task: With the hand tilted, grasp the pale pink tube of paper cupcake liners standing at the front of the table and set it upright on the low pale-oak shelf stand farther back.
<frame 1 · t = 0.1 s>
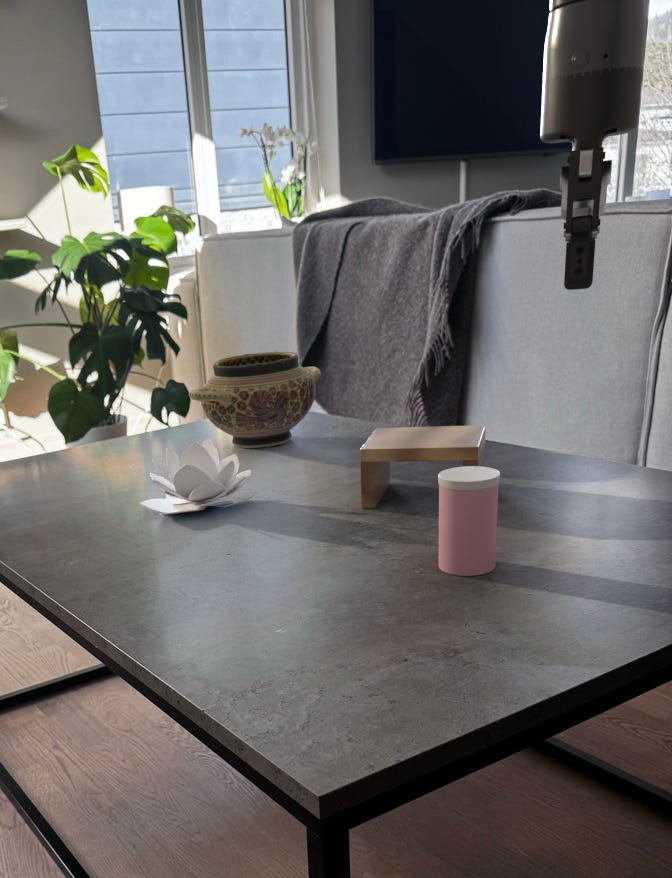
hand: (578, 285, 80), 24 cm above the table, tool pointing down, fingers open, 8 cm apart
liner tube: (466, 566, 87), on the table
shelf stand: (424, 495, 110), on the table
ceramic bowl: (261, 443, 145), on the table
lotus flower: (199, 508, 115), on the table
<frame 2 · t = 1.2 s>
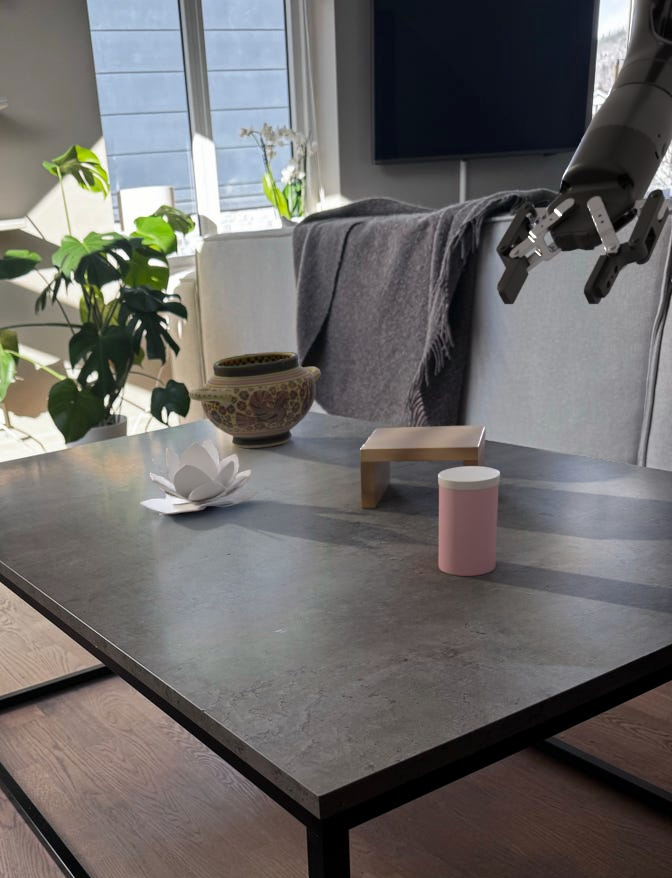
hand: (546, 298, 84), 23 cm above the table, tool tilted 45°, fingers open, 8 cm apart
nothing on the table moved.
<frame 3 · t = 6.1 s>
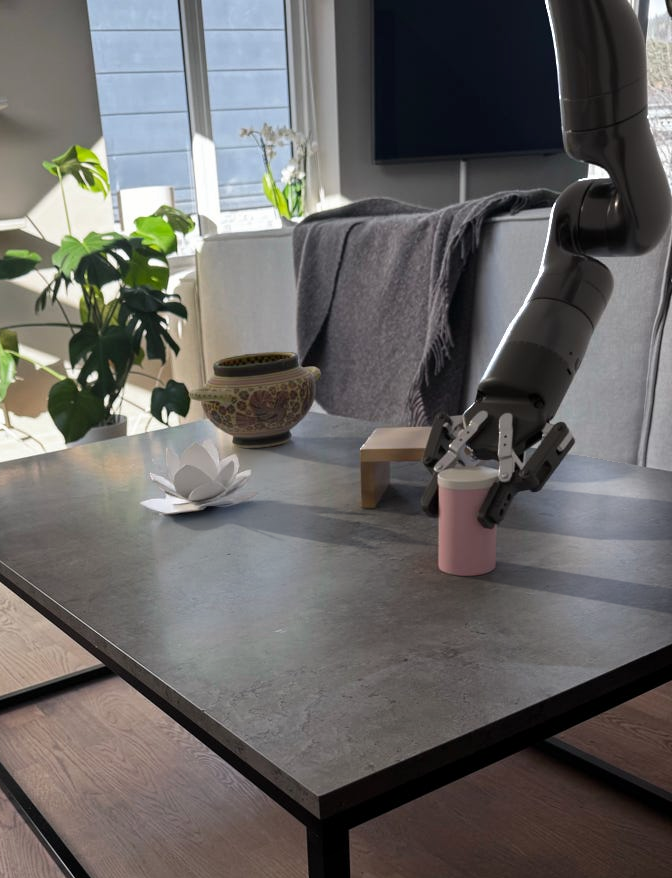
hand: (456, 518, 84), 5 cm above the table, tool tilted 45°, fingers closed on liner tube, 5 cm apart
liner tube: (466, 566, 87), on the table, touching gripper
everything else where it was.
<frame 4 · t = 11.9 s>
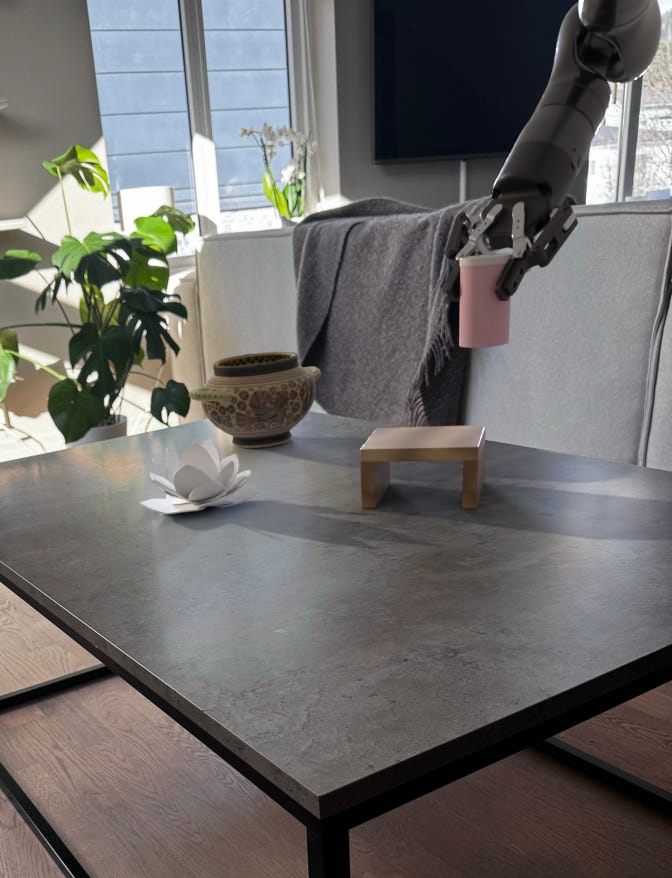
hand: (475, 295, 97), 22 cm above the table, tool tilted 45°, fingers closed on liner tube, 5 cm apart
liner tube: (483, 344, 100), point 17 cm above the table, touching gripper
everything else where it was.
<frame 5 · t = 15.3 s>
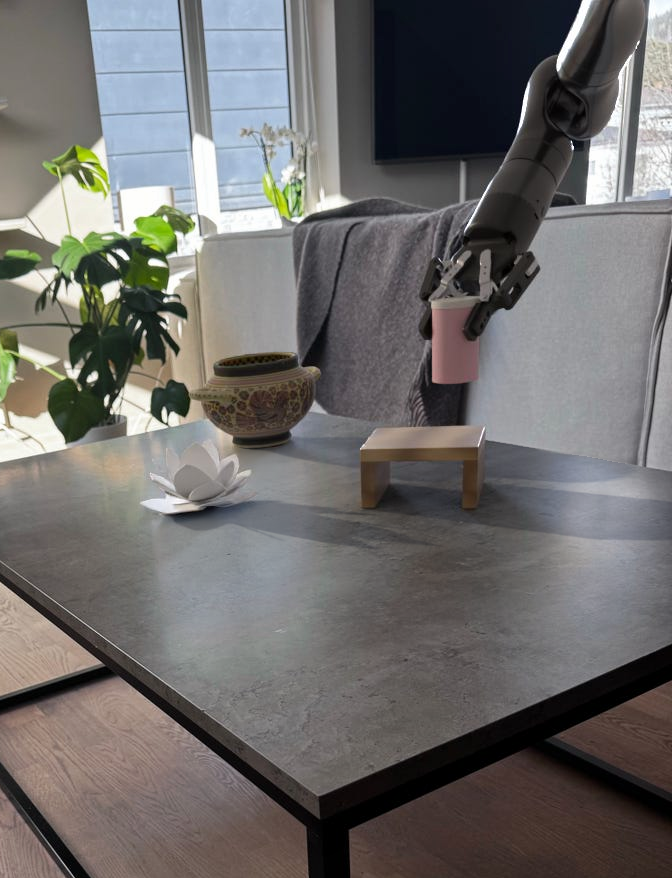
hand: (446, 335, 104), 18 cm above the table, tool tilted 45°, fingers closed on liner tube, 5 cm apart
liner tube: (455, 379, 108), point 13 cm above the table, touching gripper
everything else where it was.
when the fingers open (12 cm above the table, at t = 17.8 s): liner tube stays where it is, resting on shelf stand.
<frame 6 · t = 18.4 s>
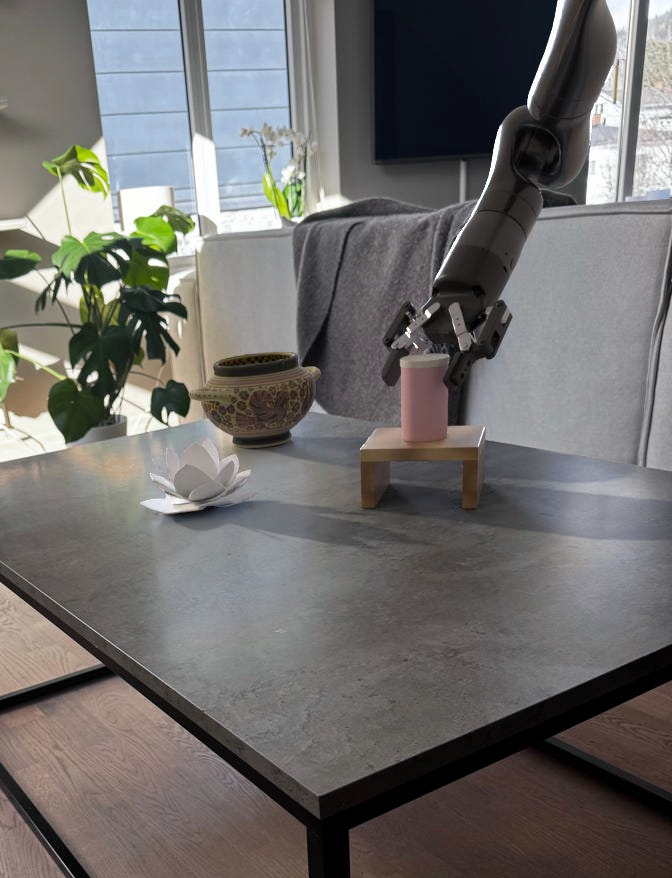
hand: (417, 384, 103), 13 cm above the table, tool tilted 45°, fingers open, 8 cm apart
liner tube: (424, 436, 107), point 7 cm above the table, touching shelf stand
everything else where it was.
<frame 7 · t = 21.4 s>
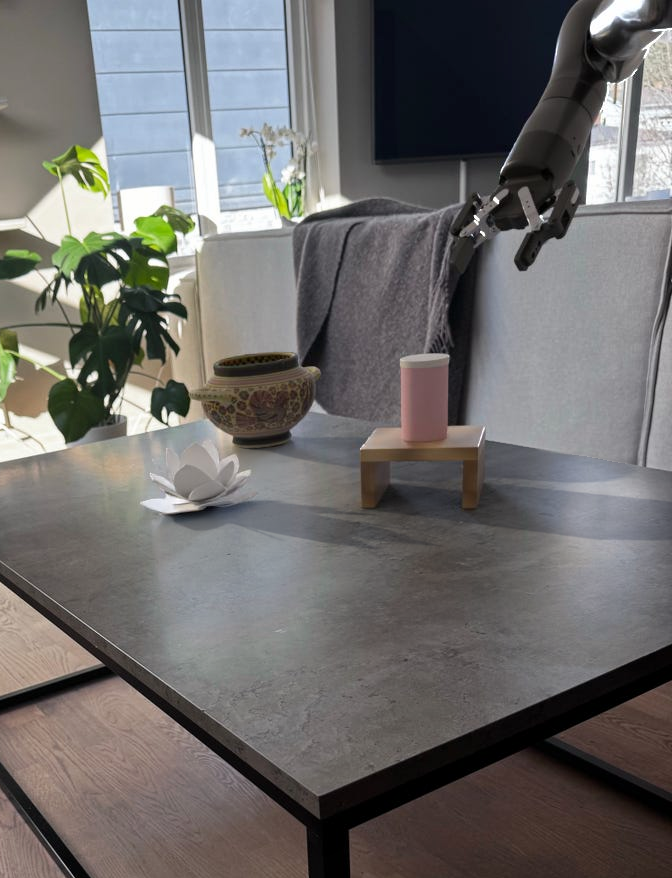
hand: (486, 268, 106), 24 cm above the table, tool tilted 45°, fingers open, 8 cm apart
nothing on the table moved.
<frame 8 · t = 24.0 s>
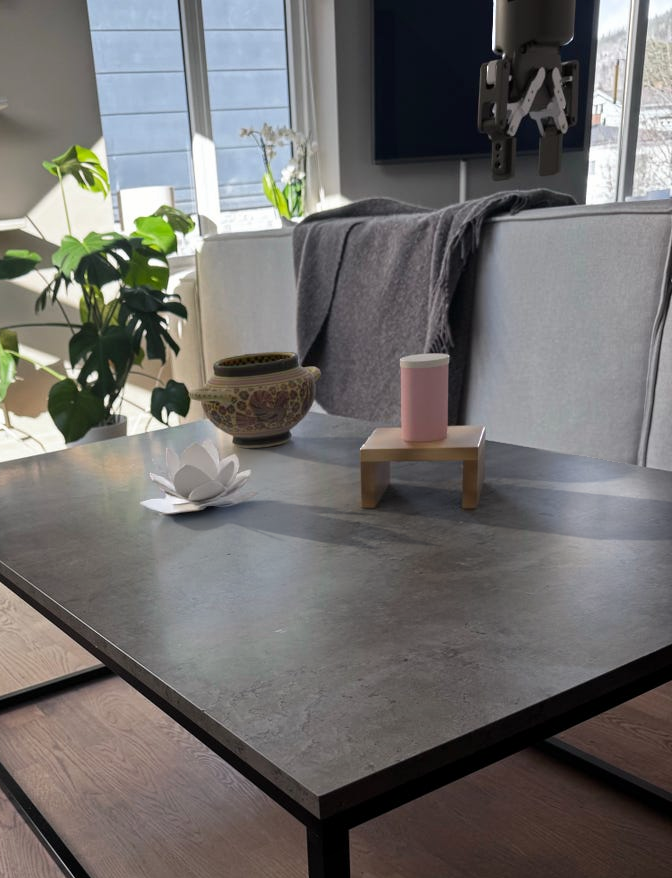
hand: (526, 177, 95), 33 cm above the table, tool pointing down, fingers open, 8 cm apart
nothing on the table moved.
at the end: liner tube inside the target area on the shelf stand (0.0 cm from its centre), point 7.0 cm above the shelf stand's base; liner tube tilted 0°; the gripper is holding nothing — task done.
